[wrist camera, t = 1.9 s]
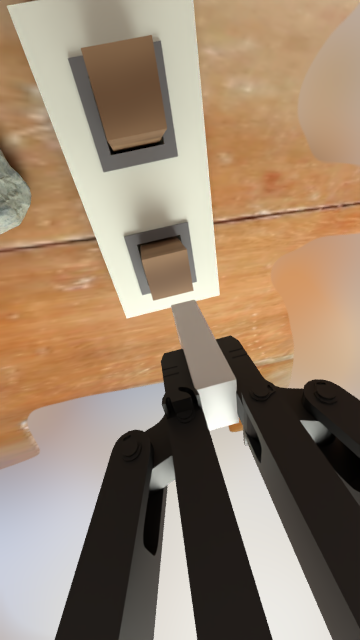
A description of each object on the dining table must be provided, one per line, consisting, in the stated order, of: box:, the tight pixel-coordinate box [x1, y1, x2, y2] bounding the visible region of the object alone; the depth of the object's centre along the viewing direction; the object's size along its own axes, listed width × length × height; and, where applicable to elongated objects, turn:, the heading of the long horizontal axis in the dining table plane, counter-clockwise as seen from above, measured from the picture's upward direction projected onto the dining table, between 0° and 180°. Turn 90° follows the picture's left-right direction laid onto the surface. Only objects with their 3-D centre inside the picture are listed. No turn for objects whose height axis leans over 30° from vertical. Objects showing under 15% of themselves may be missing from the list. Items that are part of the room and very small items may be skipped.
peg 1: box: [81, 35, 167, 152], centre depth 16 cm, size 4×4×6 cm
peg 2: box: [140, 236, 194, 301], centre depth 22 cm, size 4×4×6 cm
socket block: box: [7, 0, 220, 318], centre depth 23 cm, size 24×12×6 cm, turn 11°
